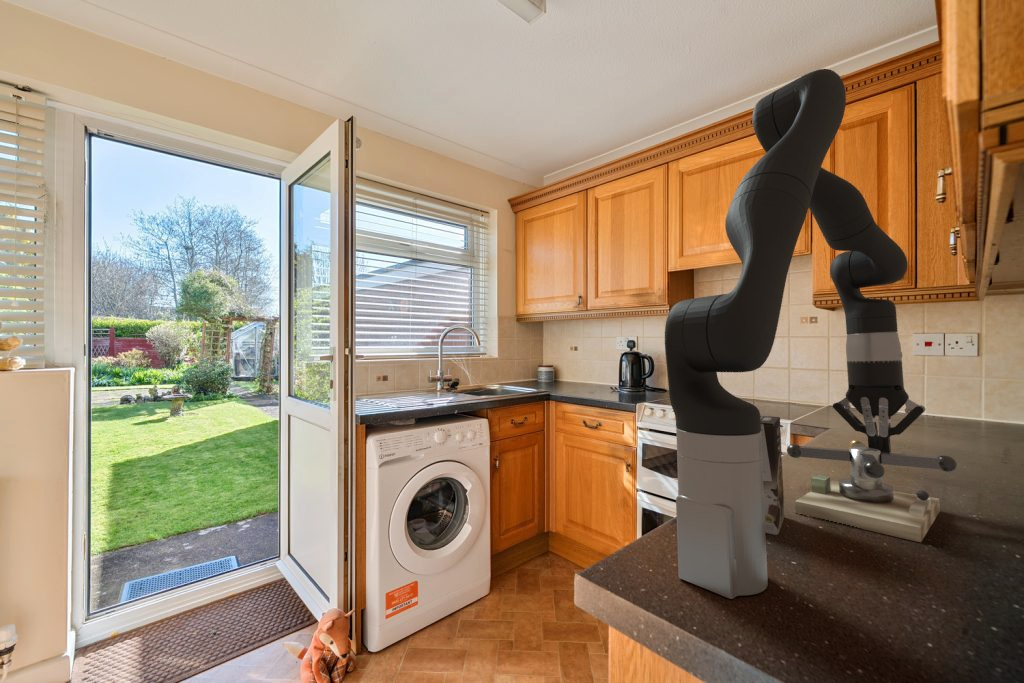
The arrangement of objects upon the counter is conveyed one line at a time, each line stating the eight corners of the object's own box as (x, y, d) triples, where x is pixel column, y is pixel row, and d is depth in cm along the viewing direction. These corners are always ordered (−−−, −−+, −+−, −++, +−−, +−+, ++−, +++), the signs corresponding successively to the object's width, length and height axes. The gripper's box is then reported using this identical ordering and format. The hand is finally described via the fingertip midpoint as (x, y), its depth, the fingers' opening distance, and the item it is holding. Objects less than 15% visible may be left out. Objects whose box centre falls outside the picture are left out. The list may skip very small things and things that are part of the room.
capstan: (986, 534, 56) (982, 472, 56) (787, 505, 67) (785, 455, 68) (939, 489, 74) (936, 443, 74) (789, 473, 85) (787, 434, 86)
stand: (920, 542, 59) (919, 509, 59) (795, 513, 70) (794, 486, 71) (939, 511, 70) (938, 483, 70) (829, 490, 82) (828, 467, 82)
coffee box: (780, 536, 62) (775, 423, 62) (730, 526, 66) (726, 420, 66) (786, 517, 69) (781, 416, 70) (741, 509, 73) (737, 413, 74)
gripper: (822, 360, 79) (828, 455, 78) (921, 358, 69) (929, 467, 68) (833, 359, 84) (839, 449, 83) (927, 357, 74) (935, 459, 73)
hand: (880, 457), depth 76 cm, fingers closed
